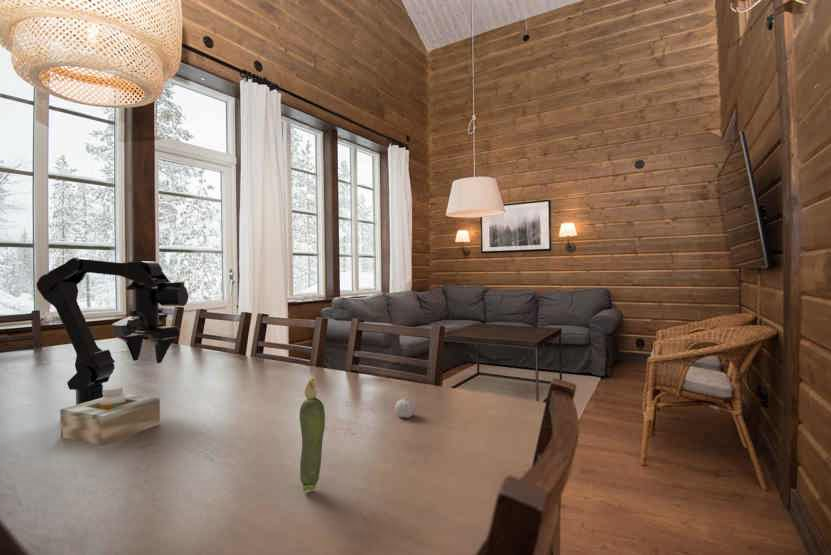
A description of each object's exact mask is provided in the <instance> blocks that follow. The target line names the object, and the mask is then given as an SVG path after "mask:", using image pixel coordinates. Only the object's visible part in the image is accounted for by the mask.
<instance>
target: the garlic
mask: <svg viewBox="0 0 831 555" xmlns="http://www.w3.org/2000/svg"><path fill="white" fill-rule="evenodd" d="M394 412H395V413H396V415H397V416H399V417H400V418H403V419H409V418H411V417H412V416H413V415H414V414H415V413H416V405H415V402H413V401H412V397H405V398H402V399H400V400H397V401H396V403H395V405H394Z"/></svg>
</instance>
